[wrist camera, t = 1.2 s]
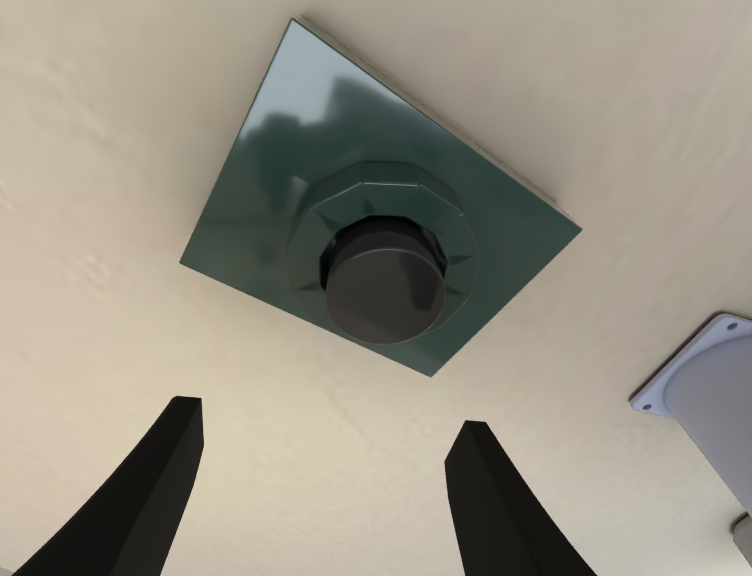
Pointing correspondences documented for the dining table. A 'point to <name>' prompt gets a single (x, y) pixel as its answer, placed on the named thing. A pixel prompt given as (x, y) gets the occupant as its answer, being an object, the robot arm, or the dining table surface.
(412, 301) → the dark grey push button
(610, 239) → the dining table surface
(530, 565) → the robot arm
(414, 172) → the green push button box
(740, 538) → the water bottle
